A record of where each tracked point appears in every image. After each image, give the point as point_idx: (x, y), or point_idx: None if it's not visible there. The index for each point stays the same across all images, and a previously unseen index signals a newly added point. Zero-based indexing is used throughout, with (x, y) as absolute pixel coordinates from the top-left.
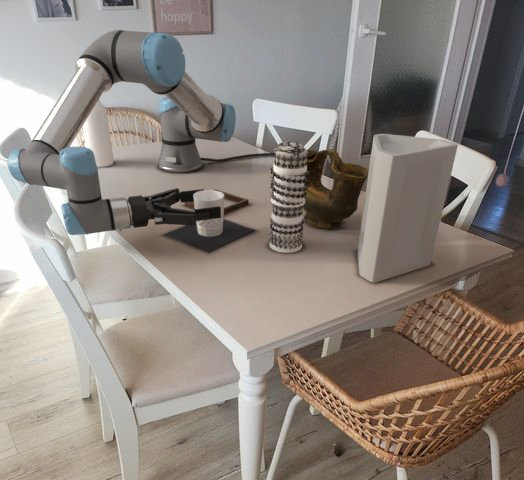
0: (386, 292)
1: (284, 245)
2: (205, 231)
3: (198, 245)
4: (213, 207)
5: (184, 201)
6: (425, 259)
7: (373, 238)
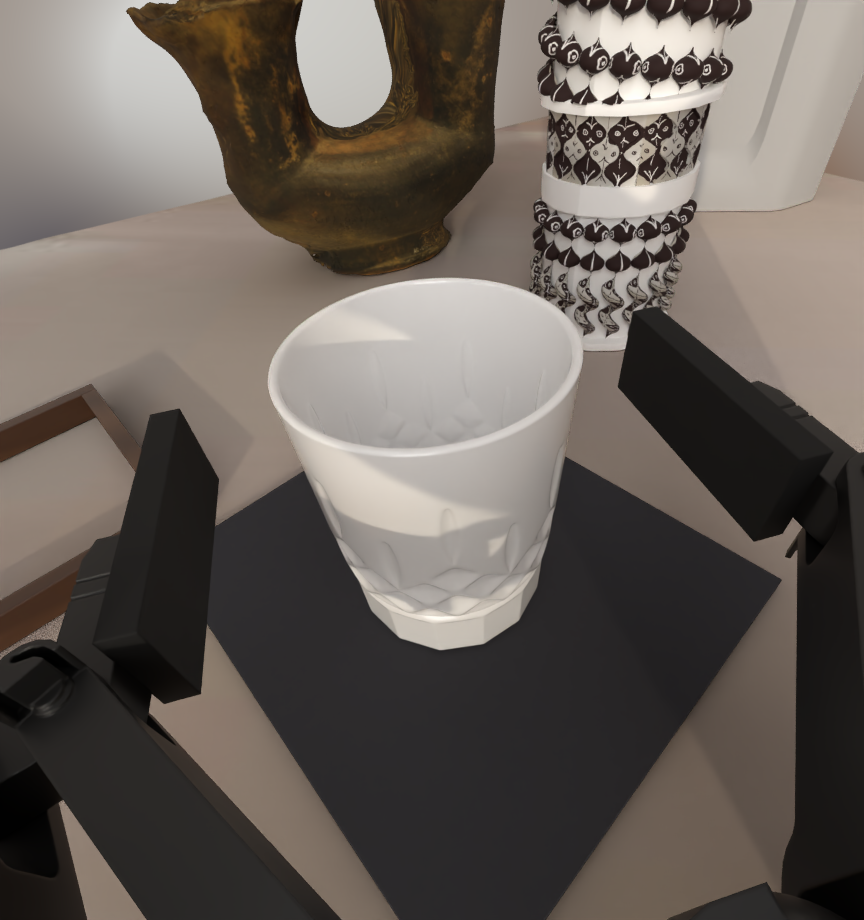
0: (859, 187)
1: (673, 290)
2: (536, 573)
3: (699, 646)
4: (676, 338)
5: (200, 651)
6: None
7: (860, 49)
